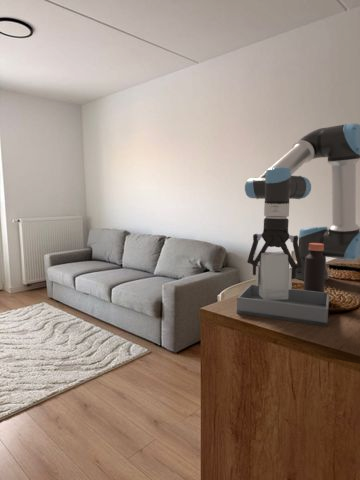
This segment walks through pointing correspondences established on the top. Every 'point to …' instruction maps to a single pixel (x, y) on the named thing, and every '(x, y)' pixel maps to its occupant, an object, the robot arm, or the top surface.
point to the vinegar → (315, 268)
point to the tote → (286, 306)
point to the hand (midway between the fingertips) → (273, 286)
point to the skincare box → (274, 276)
